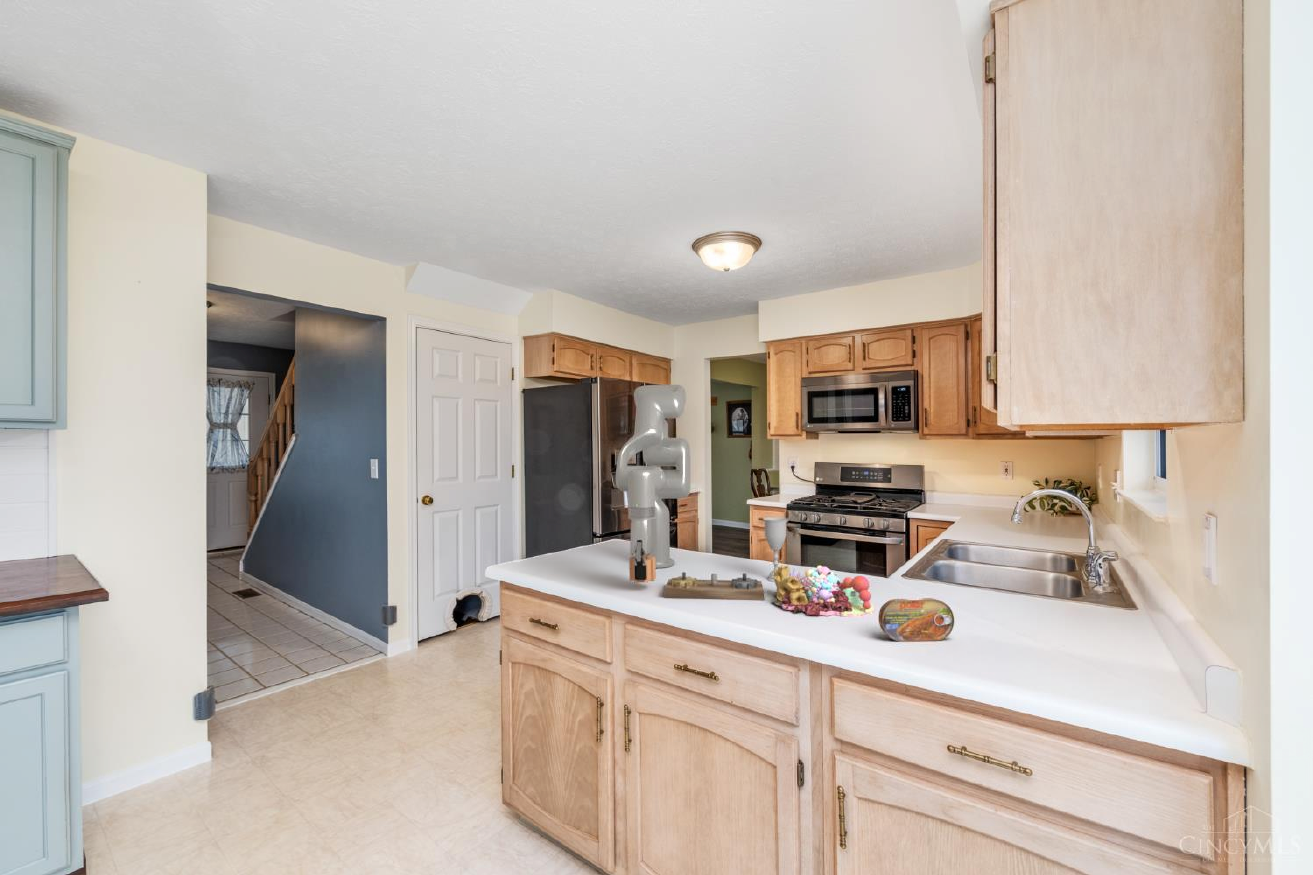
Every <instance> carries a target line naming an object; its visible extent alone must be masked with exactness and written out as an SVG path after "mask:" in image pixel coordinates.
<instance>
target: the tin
mask: <svg viewBox="0 0 1313 875" xmlns="http://www.w3.org/2000/svg"><path fill="white" fill-rule="evenodd" d="M877 619H878V624H879V628H880V630H882V632H883V633H884V634H885V635H887V636H888V637H889V638H890V639H891V640H893V641H896V642H899V643H905V642H906V643H910V642H911V643H912V642H939V641H942V640H944V639H946V638H947V637H948V636H950V635H951V633H952V631H953V629H954V626H955V616H954V612H953V610H952V609H951V607H950V606H949V605H948V604H947V603H946V602H944V601H942V600H939V599H936V598H932V597H920V598H918V597H917V598H894V599H890V600H888V601H886V602H885V603H884V604H883V605H882V606H881V607H880V609H879V611H878V618H877Z"/></svg>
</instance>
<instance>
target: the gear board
mask: <svg viewBox="0 0 1313 875" xmlns="http://www.w3.org/2000/svg"><path fill="white" fill-rule="evenodd" d="M663 592H664V593H663V594H664V597H663V598H664V599H691V600H693V599H694V600H695V599H697V600H699V599H701V600H732V601H733V600H739V601H741V600H742V601H743V600H744V601H746V600H747V601H765V590H764V586H763V582H762V580H758V579H756V578H754V579H753V578H751V577H747V573H742V577H737V578H732V579H730V580H727V579H723V580H721V579H720V580H719V579H718V574H717V573H711V575H710V579H697V578H696V577H691V576H687V575H686V572H682V573H681V576H677V577H672V578H669V579H668V580H667V582H666V585H665V588H664V591H663Z"/></svg>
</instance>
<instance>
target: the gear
mask: <svg viewBox="0 0 1313 875" xmlns="http://www.w3.org/2000/svg"><path fill="white" fill-rule="evenodd" d="M642 558H643V557H642ZM628 562H629V566H628V567H629V568H628V569H629V581H630V582H631V581H632V582H634V583H644V584H645V583H646V584H647V583H649V582H655V581H656V579H657V578H656V576H657V574H656V573H657V570H656V569H657V568H656V560H655V557H651V555H646V560H645V565H646V575H647V578H646V580H635V556H634V555H631V556H630V557H629V561H628Z"/></svg>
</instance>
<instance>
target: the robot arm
mask: <svg viewBox="0 0 1313 875" xmlns="http://www.w3.org/2000/svg"><path fill="white" fill-rule="evenodd" d="M633 392H634V393H633V398H634V399H633V400H634V404H635V408H636V410H635V422H634V434H633V436H631V437H630V438H629V439H628V440H627V441H626V442H625V444H624V445H623V446H622V447H621V450H620V451H619V452H618V453H619V454H618V456H617V460H616V470H615V484H616V488H618V490H619V491H621V492H625V493H627V499H628V500H627V503H628V507H627V510H628V511H627V512H628V513H627V514H628V515H627V516H628V520H631V523H630V544H629V546H630V547H629V549H630V551H629V554H630V556H634V555H635V580H646V578H647V575H646V565H645V560H646V555H651V557H655V560H656V569H660V568H661V569H662V568H668V567H672V566H674V565H675V560H674V559H673V558H670V555H671V554H670V547H671V546H670V511H669V508H668V506H667V505H666V504H665V502H664V501H663V499H685V498H687V497H688V496H689V495H690V494H691V451H690V450H691V448H690V444H689V442H688V440H686V439H685V438H684V437H683V438H682V437H669V424H668V421H667V420H666V419H678V418H681V417H682V415H683V413H684V409H685V406H686V402H687V394H686V390H685V388H684V386H683V385H680V384H648V385H641V386H639V387H637V388H635V389H634V391H633ZM640 452H642V458H643V461H644V464H646V465H628V463H629V461H630V460H631V458H632V457H633V456H635V455H637V454H638V453H640ZM661 467H676V469H662V468H661ZM642 557H643V558H642Z"/></svg>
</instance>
